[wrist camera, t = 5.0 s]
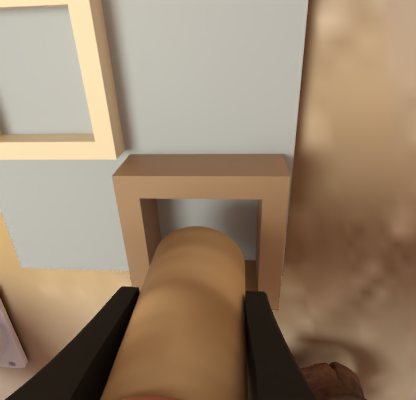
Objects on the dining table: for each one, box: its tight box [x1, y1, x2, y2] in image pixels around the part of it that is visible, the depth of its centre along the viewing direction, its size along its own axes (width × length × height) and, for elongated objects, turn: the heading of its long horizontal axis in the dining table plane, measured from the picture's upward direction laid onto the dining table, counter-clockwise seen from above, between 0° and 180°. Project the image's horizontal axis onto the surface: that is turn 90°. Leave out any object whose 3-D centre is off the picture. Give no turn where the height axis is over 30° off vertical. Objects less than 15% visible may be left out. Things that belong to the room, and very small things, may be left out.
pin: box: [100, 226, 248, 400], centre depth 10 cm, size 4×4×7 cm
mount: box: [0, 0, 308, 310], centre depth 15 cm, size 15×14×4 cm
